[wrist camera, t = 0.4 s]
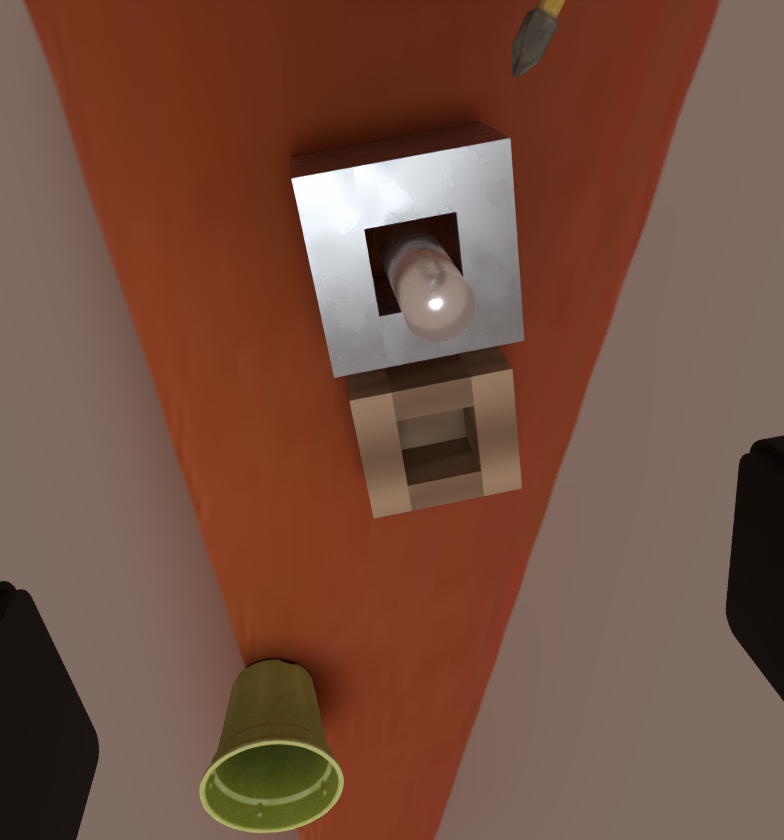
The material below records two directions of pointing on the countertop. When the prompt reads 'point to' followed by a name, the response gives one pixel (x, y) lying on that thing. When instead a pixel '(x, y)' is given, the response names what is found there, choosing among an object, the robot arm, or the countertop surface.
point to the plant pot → (271, 754)
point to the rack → (436, 430)
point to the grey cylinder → (424, 281)
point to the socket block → (398, 202)
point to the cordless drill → (534, 35)
